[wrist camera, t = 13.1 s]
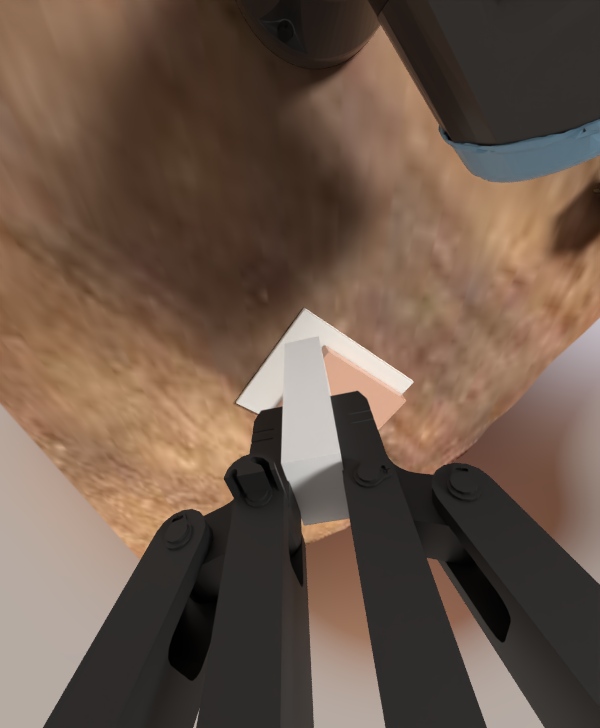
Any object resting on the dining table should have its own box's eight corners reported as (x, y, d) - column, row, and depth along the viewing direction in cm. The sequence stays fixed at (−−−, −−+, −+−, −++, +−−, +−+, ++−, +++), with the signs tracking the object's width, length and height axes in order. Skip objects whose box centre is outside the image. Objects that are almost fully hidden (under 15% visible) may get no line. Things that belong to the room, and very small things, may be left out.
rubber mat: (236, 400, 46) (236, 403, 46) (304, 307, 41) (304, 308, 40) (343, 452, 54) (344, 455, 53) (411, 380, 49) (413, 382, 48)
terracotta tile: (276, 406, 47) (350, 444, 52) (277, 416, 45) (354, 454, 50) (325, 344, 43) (399, 391, 49) (328, 351, 41) (406, 400, 47)
